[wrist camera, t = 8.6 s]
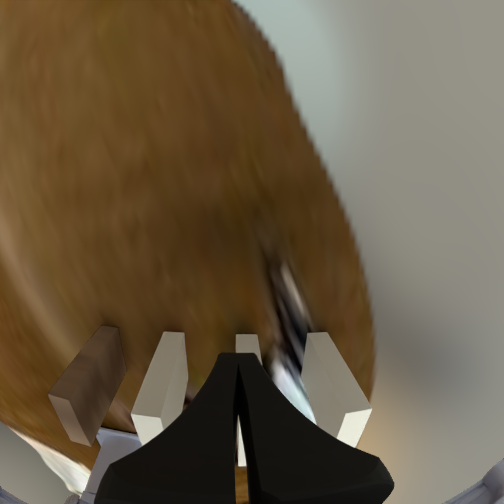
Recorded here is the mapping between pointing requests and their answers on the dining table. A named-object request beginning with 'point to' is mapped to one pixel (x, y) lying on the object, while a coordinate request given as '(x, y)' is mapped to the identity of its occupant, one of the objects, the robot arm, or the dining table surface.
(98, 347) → the walnut domino
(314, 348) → the ivory domino
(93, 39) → the dining table surface
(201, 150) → the dining table surface
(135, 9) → the dining table surface
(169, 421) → the ivory domino
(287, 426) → the robot arm
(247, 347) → the ivory domino
